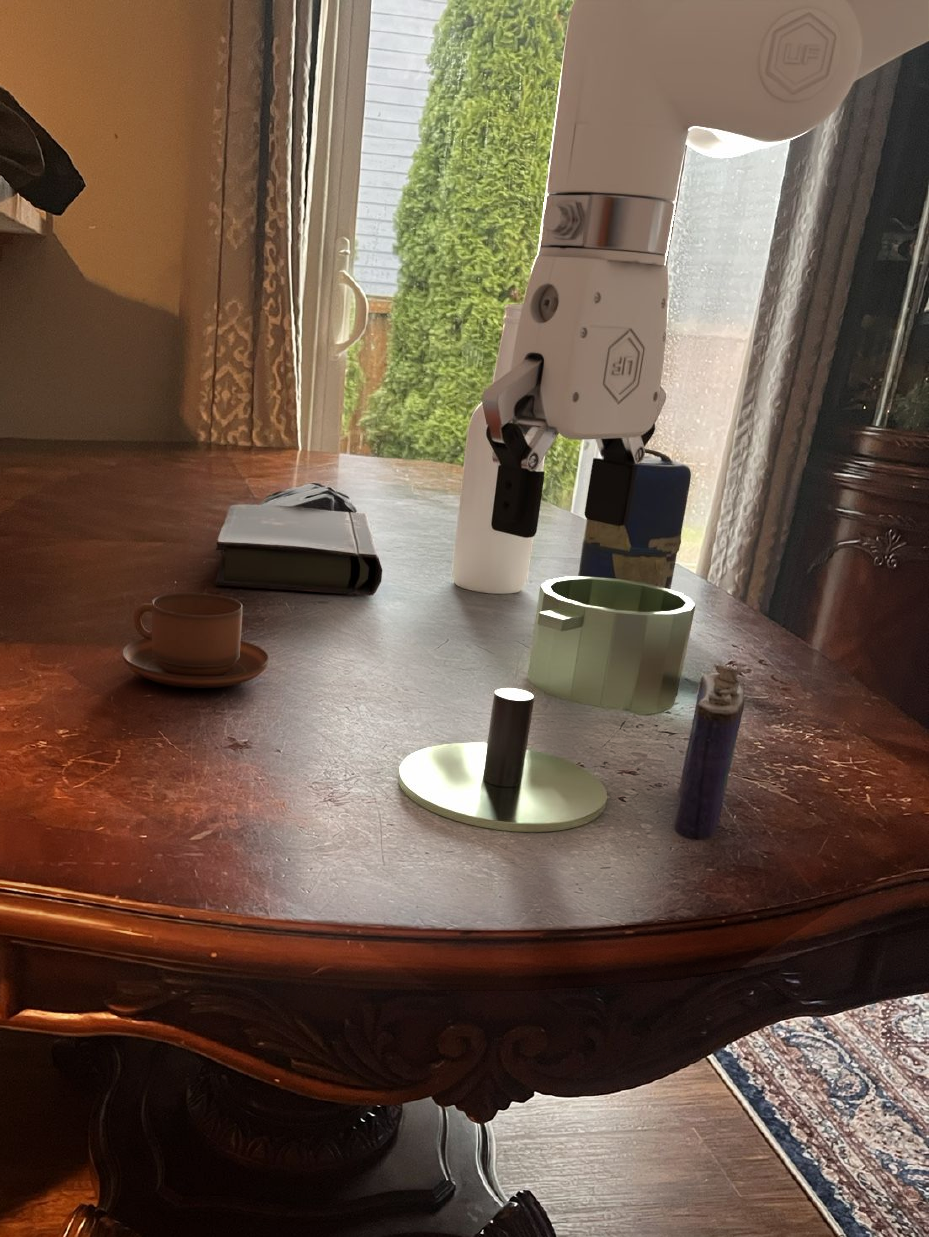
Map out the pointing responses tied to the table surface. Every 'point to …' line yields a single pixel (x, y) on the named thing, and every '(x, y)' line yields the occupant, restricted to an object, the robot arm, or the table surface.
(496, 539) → the alcohol
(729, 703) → the flask
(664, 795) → the table surface
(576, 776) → the lid
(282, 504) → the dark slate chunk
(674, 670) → the pot
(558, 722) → the table surface
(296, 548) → the diary
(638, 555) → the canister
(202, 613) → the cup and saucer
